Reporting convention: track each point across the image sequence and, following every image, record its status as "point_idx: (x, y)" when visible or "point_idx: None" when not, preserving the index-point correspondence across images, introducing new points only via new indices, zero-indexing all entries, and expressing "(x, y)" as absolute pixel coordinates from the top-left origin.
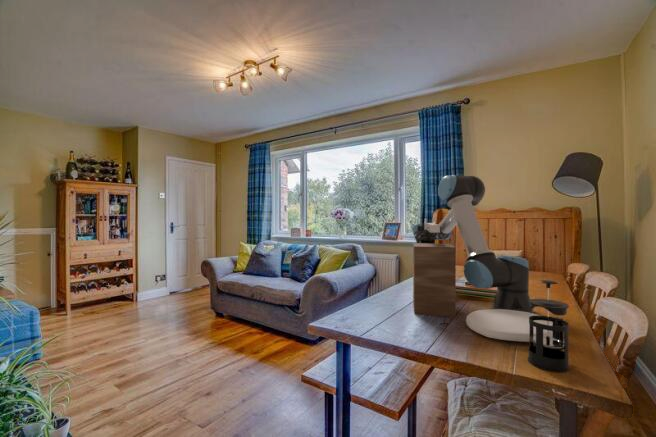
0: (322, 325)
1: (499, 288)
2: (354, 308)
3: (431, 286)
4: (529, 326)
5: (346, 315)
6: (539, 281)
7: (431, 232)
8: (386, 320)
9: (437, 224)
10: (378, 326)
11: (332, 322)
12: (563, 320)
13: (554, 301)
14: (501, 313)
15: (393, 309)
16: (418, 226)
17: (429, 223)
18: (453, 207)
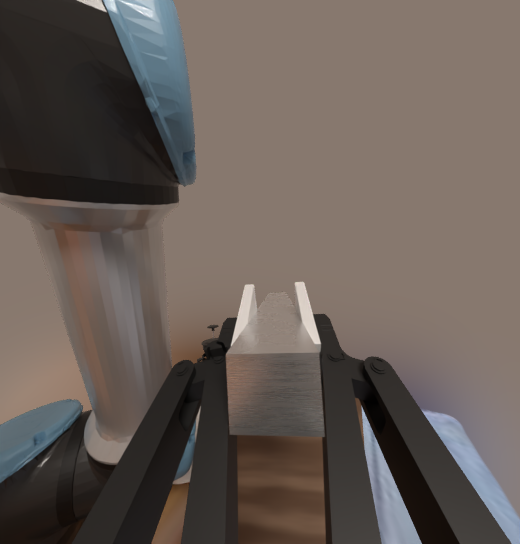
0: (439, 416)
1: (73, 526)
2: (507, 525)
3: None
4: None
5: (458, 462)
6: (217, 326)
7: (231, 534)
8: (370, 449)
9: (268, 295)
10: (367, 425)
11: (440, 427)
12: (202, 355)
13: (208, 341)
14: (197, 421)
15: (402, 537)
16: (376, 362)
17: (281, 308)
18: (161, 235)
